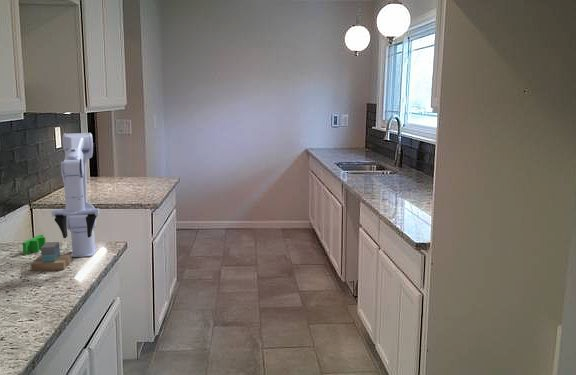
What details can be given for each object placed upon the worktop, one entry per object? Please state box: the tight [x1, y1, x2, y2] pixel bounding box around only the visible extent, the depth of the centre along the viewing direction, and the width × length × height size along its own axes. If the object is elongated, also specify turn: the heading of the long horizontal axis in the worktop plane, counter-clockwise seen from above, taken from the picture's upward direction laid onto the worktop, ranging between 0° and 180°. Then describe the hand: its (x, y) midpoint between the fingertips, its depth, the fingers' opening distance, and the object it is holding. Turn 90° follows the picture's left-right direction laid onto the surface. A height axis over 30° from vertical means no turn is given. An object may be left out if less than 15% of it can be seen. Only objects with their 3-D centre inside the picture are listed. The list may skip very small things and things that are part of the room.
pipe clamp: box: [22, 234, 47, 255], centre depth 193 cm, size 11×4×5 cm, turn 173°
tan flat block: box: [30, 253, 72, 272], centre depth 176 cm, size 9×10×2 cm
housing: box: [40, 241, 61, 262], centre depth 175 cm, size 6×4×5 cm, turn 7°
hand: (77, 237), depth 173 cm, fingers open, 7 cm apart
